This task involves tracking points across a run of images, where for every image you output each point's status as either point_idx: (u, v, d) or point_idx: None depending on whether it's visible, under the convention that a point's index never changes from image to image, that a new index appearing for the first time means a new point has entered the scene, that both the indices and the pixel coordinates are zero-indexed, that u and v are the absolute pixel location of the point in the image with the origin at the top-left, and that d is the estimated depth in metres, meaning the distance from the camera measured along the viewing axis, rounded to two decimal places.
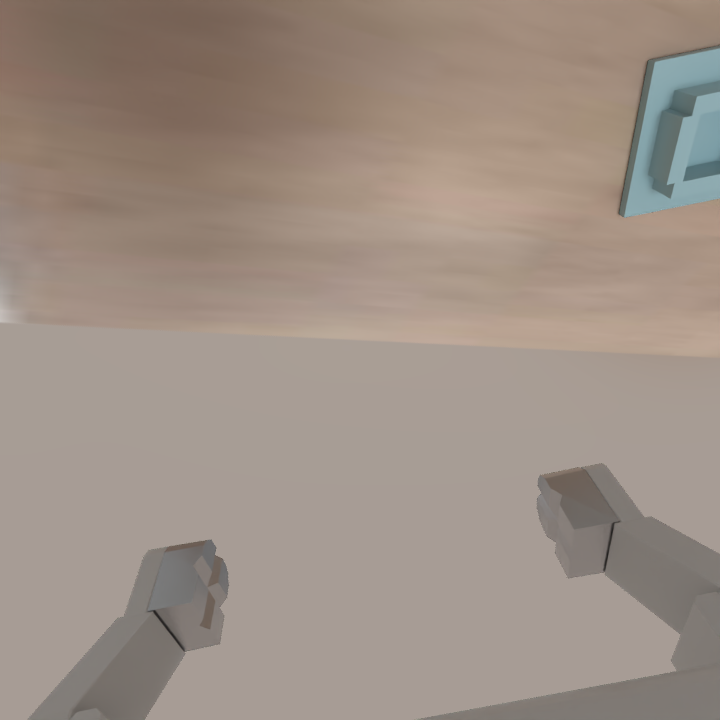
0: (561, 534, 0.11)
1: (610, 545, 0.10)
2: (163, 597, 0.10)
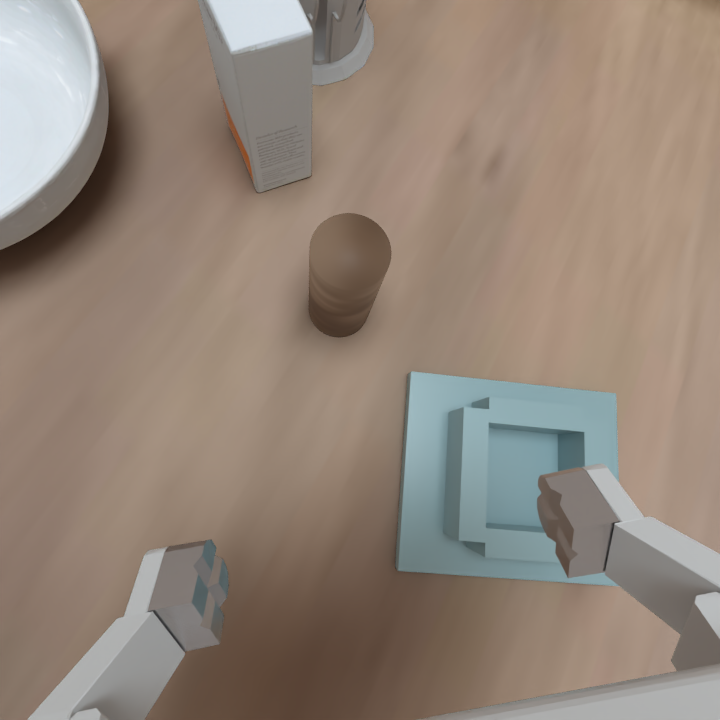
0: (561, 534, 0.11)
1: (610, 544, 0.10)
2: (162, 597, 0.10)
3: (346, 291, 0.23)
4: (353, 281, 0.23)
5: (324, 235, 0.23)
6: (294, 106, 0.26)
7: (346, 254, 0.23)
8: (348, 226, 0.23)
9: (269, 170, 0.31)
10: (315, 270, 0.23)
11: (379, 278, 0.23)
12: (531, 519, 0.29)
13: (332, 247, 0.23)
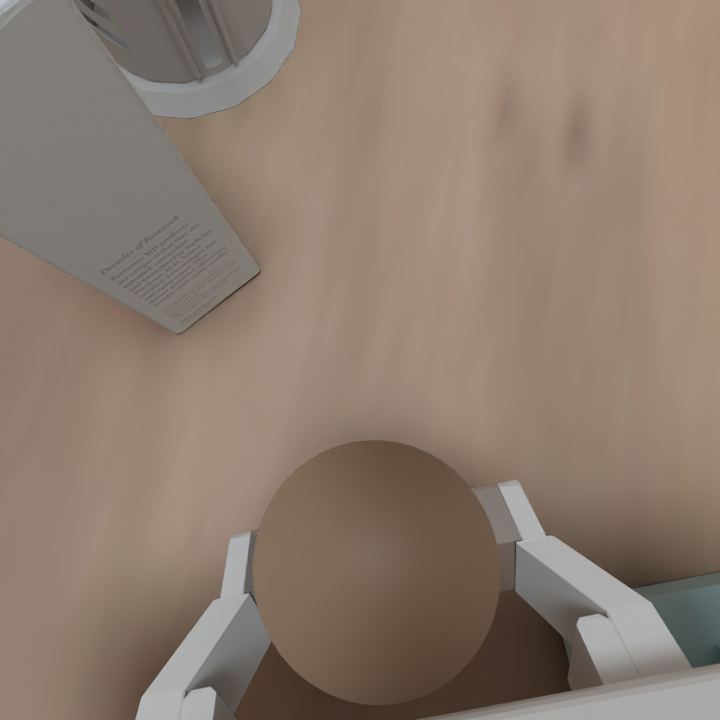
0: None
1: (515, 563, 0.10)
2: None
3: (399, 696, 0.07)
4: (411, 668, 0.07)
5: (286, 541, 0.08)
6: (143, 184, 0.11)
7: (364, 580, 0.08)
8: (346, 488, 0.08)
9: (174, 301, 0.16)
10: (291, 660, 0.08)
11: (485, 631, 0.07)
12: None
13: (320, 574, 0.08)
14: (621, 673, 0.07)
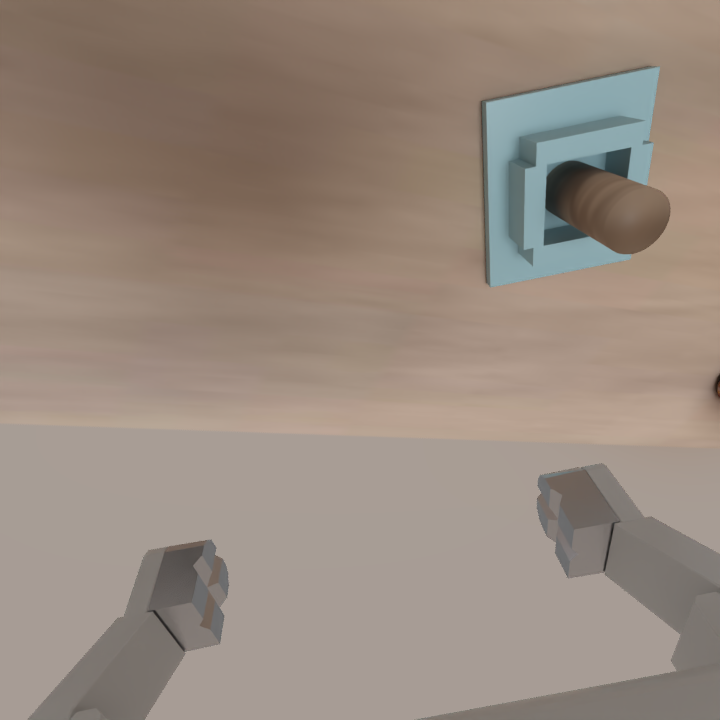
0: (561, 534, 0.11)
1: (610, 545, 0.10)
2: (163, 596, 0.10)
3: (602, 227, 0.29)
4: (611, 231, 0.29)
5: (651, 197, 0.28)
6: None
7: (634, 219, 0.28)
8: (658, 214, 0.28)
9: None
10: (620, 199, 0.28)
11: (613, 250, 0.29)
12: None
13: (640, 207, 0.28)
14: None
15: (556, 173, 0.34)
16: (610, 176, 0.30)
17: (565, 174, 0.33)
